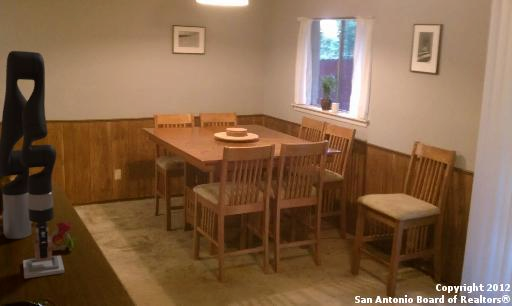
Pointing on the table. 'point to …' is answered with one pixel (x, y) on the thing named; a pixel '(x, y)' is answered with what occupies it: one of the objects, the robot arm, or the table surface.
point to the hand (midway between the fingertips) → (43, 254)
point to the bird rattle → (59, 239)
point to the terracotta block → (37, 250)
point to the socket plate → (43, 267)
